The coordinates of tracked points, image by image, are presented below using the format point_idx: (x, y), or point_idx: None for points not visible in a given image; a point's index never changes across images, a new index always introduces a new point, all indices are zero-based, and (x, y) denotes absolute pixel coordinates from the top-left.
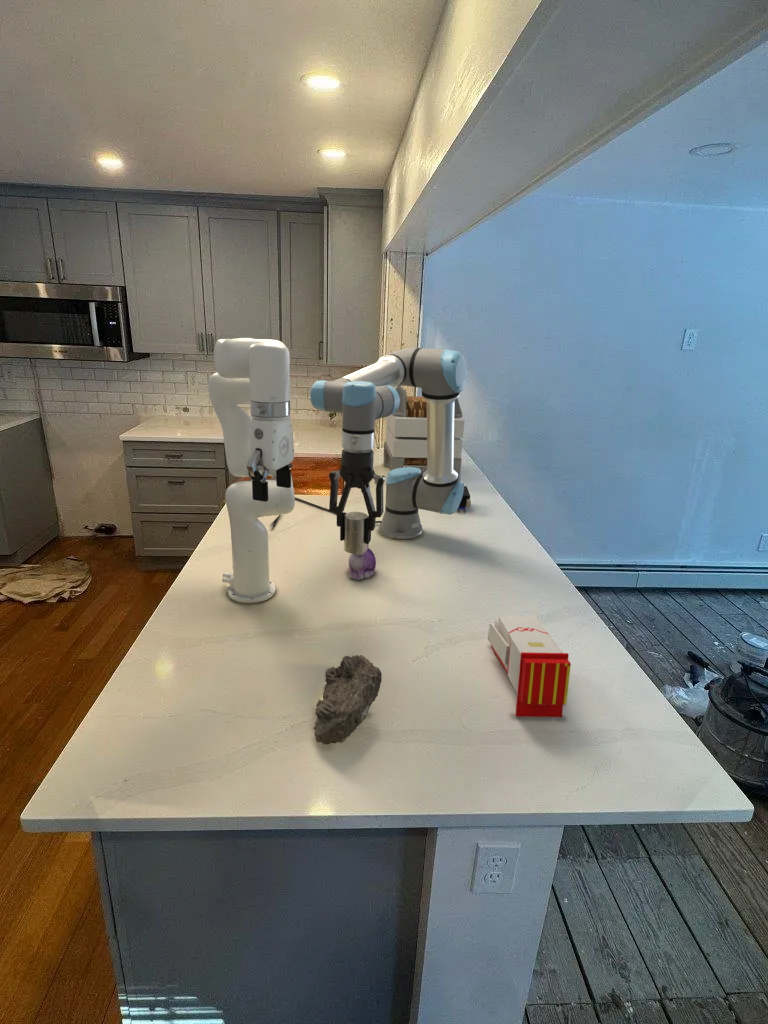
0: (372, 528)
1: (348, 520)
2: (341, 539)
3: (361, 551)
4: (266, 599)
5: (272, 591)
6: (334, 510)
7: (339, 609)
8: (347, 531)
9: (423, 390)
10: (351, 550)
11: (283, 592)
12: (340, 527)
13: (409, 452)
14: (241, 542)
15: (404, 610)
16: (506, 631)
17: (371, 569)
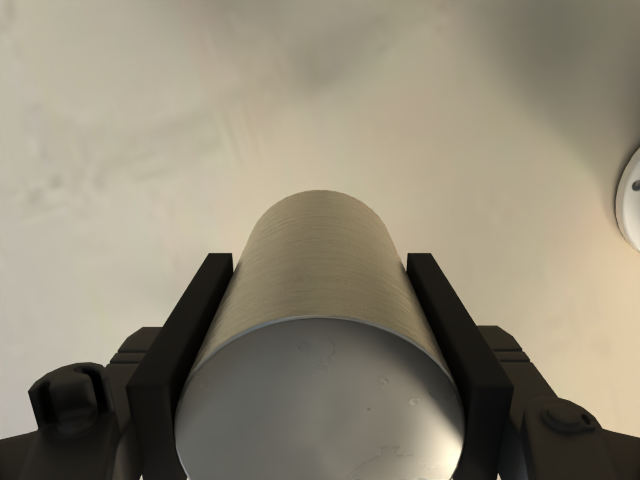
0: (140, 340)
1: (382, 313)
2: (421, 256)
3: (261, 218)
4: (636, 151)
5: (629, 193)
6: (635, 454)
7: (369, 167)
8: (375, 257)
9: None
10: (325, 196)
11: (585, 219)
12: (461, 305)
13: None
14: None
15: (163, 225)
16: None
17: None
